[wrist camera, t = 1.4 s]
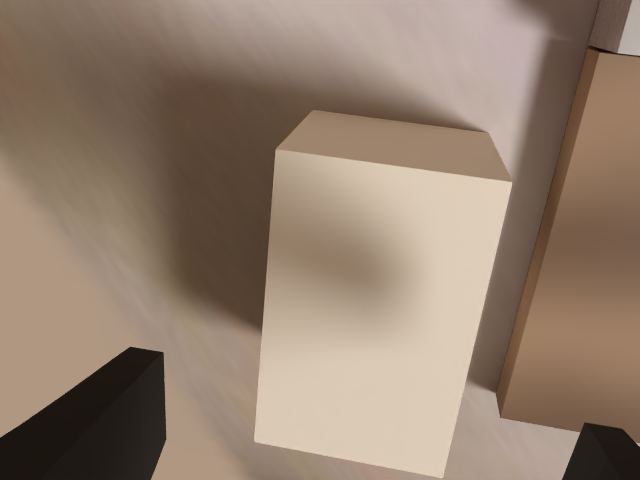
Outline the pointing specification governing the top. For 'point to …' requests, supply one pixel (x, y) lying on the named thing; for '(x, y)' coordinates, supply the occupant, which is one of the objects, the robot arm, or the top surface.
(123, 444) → the robot arm
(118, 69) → the top surface
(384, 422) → the carton
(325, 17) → the top surface
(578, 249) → the shelf board
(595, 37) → the price rail
